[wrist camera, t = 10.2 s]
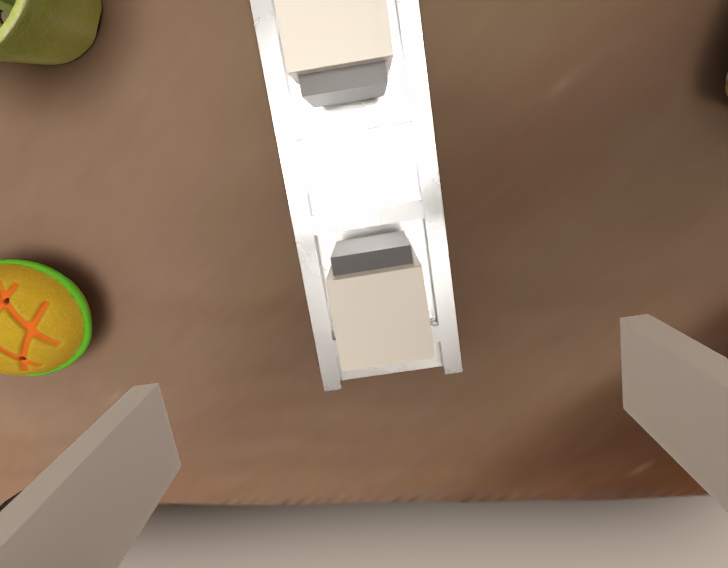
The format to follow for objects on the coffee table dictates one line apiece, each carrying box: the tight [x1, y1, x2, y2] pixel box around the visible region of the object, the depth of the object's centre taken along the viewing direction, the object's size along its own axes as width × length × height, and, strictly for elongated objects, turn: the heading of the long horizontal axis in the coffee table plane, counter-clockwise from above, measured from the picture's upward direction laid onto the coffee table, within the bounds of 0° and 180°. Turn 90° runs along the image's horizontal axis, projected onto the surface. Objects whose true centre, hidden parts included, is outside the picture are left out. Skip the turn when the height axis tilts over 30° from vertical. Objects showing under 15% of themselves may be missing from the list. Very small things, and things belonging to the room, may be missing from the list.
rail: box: [250, 0, 462, 391], centre depth 27 cm, size 8×24×2 cm, turn 9°
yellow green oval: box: [0, 259, 92, 376], centre depth 28 cm, size 7×10×5 cm
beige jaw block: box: [325, 230, 435, 372], centre depth 25 cm, size 4×5×8 cm
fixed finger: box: [274, 0, 394, 108], centre depth 22 cm, size 4×5×8 cm
